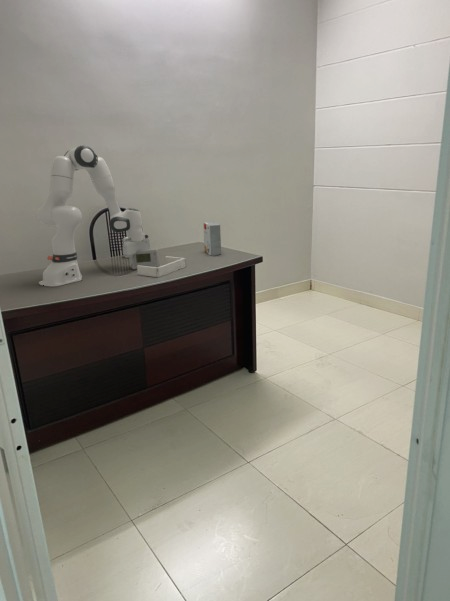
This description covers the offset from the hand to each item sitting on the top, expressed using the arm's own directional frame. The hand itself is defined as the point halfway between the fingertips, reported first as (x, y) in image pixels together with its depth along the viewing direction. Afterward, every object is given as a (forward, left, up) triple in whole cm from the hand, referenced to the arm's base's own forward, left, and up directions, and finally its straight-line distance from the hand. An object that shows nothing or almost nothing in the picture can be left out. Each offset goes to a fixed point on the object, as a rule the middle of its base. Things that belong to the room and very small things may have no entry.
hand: (137, 260), depth 249 cm
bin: (0, -18, -4) cm, 19 cm away
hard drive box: (+52, -20, -4) cm, 56 cm away
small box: (+22, +24, -4) cm, 33 cm away
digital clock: (0, -5, -4) cm, 7 cm away
